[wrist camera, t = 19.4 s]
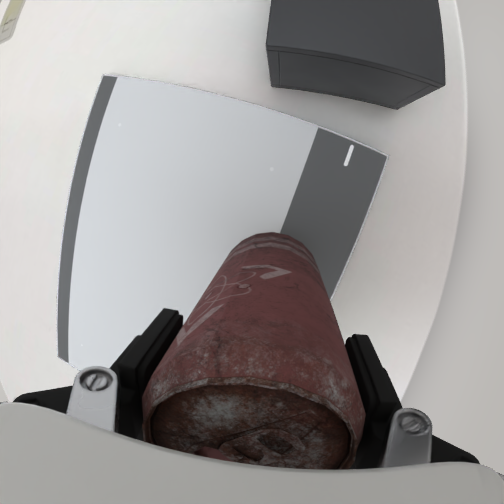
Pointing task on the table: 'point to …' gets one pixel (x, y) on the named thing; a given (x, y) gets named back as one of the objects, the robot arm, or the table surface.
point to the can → (259, 368)
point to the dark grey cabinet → (357, 48)
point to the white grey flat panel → (193, 204)
